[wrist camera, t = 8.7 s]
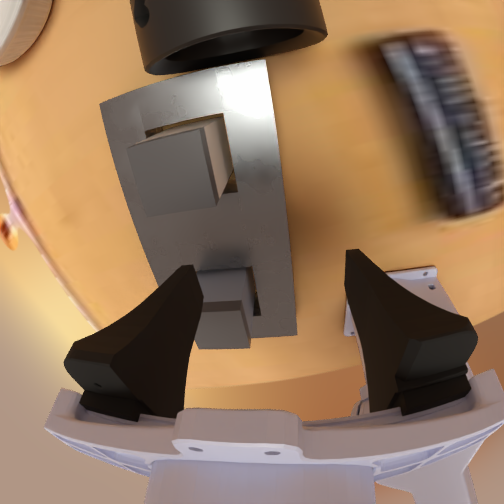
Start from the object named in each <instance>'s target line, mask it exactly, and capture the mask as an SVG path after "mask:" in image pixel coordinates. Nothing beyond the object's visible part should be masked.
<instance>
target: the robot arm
mask: <svg viewBox="0 0 504 504" xmlns="http://www.w3.org/2000/svg"><path fill="white" fill-rule="evenodd" d="M437 272H438V270H437V268H436V267H426V268H419V269H412V270H404V271H396V272H388V273H385V272H383V271H382V270H381V269H380V268H379V267H378V266H377V265H375V264H374V263H373V262H372V261H371V260H370V259H369V258H368V257H367V256H366V255H365V254H364V253H363V252H361V251H360V250H359V249H352V250H346V263H345V283H344V286H345V291H346V296H347V302H346V313H345V323H344V335H345V336H356V340H357V344H358V348H359V352H360V357H361V361H362V366H363V370H364V375H365V380H366V385H365V386H363V387H361V388H360V395H361V400H360V401H358V402H357V403H355V405H354V406H353V409H352V412H351V416H349V417H342V418H334V419H326V420H316V421H304V422H302V420H301V419H300V418H299V417H298V416H297V415H296V414H294V413H291V412H288V411H285V410H273V409H211V408H186V409H184V397H185V386H186V377H187V369H188V363H189V357H190V353H191V349H192V345H193V342H194V338H195V335H196V331H197V328H198V324H199V321H200V317H201V313H202V307H203V299H204V295H203V292H202V289H201V286H200V284H199V281H198V277H197V274H196V271H195V268H194V265H193V264H192V265H182V266H180V267H179V268H178V269H177V270H176V271H175V272H174V273H173V274H172V275H171V276H170V277H169V278H168V279H167V280H166V281H165V282H164V283H162V284H161V285H160V286H159V287H158V288H157V289H156V290H155V291H154V292H153V293H152V294H151V295H150V296H149V297H148V298H146V299H145V300H144V301H143V302H142V303H141V304H140V305H138V306H137V307H136V308H134V309H133V310H132V311H130V312H129V313H128V314H126V315H125V316H123V317H122V318H120V319H119V320H117V321H116V322H114V323H113V324H111V325H109V326H108V327H106V328H104V329H102V330H100V331H98V332H96V333H94V334H92V335H90V336H87V337H85V338H83V339H81V340H78V341H75V342H74V343H73V345H72V347H71V349H70V351H69V353H68V354H67V356H66V358H65V360H64V366H65V368H66V370H67V372H68V373H69V374H70V375H71V377H72V378H73V379H75V381H76V382H77V383H78V384H79V385H80V386H81V387H82V388H83V389H84V392H83V395H81V394H79V393H77V392H75V391H71V390H68V389H65V388H61V389H60V392H59V394H58V396H57V398H56V400H55V402H54V405H53V407H52V409H51V411H50V414H49V416H48V418H47V421H46V423H45V426H44V429H45V430H47V431H48V432H49V433H51V434H52V435H54V436H55V437H56V438H58V439H60V440H61V441H63V442H64V443H65V444H67V445H68V446H70V447H71V448H73V449H74V450H76V451H79V452H81V453H84V454H86V455H88V456H91V457H93V458H96V459H99V460H101V461H104V462H106V463H109V464H111V465H114V466H117V467H120V468H123V469H126V470H128V471H132V472H135V473H138V474H141V475H144V476H148V477H150V478H149V482H148V487H147V491H146V496H145V501H144V504H376V500H375V487H374V482H377V483H378V484H381V485H384V486H388V487H391V488H395V489H400V490H404V491H407V492H410V493H412V495H413V498H414V501H415V504H478V502H477V497H476V494H475V489H474V486H473V482H472V478H471V475H470V471H469V467H468V464H469V462H470V461H471V459H472V458H473V456H474V455H475V453H476V452H477V451H478V449H479V448H480V446H481V444H482V443H483V441H484V440H485V439H486V438H487V437H488V436H490V435H491V434H492V433H493V432H495V431H496V430H497V429H498V428H500V427H501V426H502V425H503V424H504V392H503V389H502V387H501V384H500V382H499V379H498V377H497V375H496V373H495V370H494V369H490V370H487V371H485V372H483V373H480V374H477V375H475V376H474V375H473V373H472V371H471V369H470V367H469V364H468V363H467V360H468V359H469V357H470V356H471V354H472V352H473V351H474V349H475V347H476V345H477V341H478V336H477V333H476V331H475V330H474V328H473V326H472V324H471V322H470V321H469V319H468V318H467V317H464V316H461V315H459V314H458V312H457V310H456V308H455V307H454V305H453V303H452V302H451V300H450V298H449V297H448V295H447V293H446V292H445V290H444V288H443V287H442V285H441V284H440V282H439V281H438V279H437V277H436V276H437Z"/></svg>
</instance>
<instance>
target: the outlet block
mask: <svg viewBox="0 0 504 504" xmlns="http://www.w3.org/2000/svg"><path fill="white" fill-rule="evenodd" d="M99 105H100V109H101V114H102V118H103V122H104V126H105V130H106V134H107V138H108V142H109V146H110V149H111V153H112V157H113V160H114V164H115V167H116V170H117V174H118V177H119V180H120V184H121V187H122V190H123V193H124V196H125V199H126V202H127V205H128V208H129V211H130V214H131V217H132V220H133V222H134V225H135V228H136V231H137V233H138V236H139V239H140V241H141V244H142V247H143V249H144V252H145V254H146V257H147V259H148V262H149V264H150V267H151V269H152V272H153V274H154V277H155V279H156V281H157V284H158V286H160V285H161V284H162V283H164V282H165V281H166V280H167V279H168V278H169V277H170V276H171V275H172V274H173V273H174V272H175V271H176V270H177V269H178V268H179V267H180V266H182V265H192V264H193V265H194V268H195V271H196V274H197V271H203V270H215V269H227V268H239V267H250V266H252V268H253V274H254V279H255V284H256V289H257V293H255V300H254V311H253V322H252V333H251V338H265V337H280V336H294V335H297V323H296V308H295V295H294V283H293V271H292V260H291V250H290V240H289V230H288V220H287V211H286V202H285V193H284V185H283V177H282V169H281V161H280V153H279V146H278V138H277V131H276V124H275V117H274V111H273V104H272V97H271V91H270V85H269V79H268V73H267V67H266V61H265V59H264V60H256V61H249V62H243V63H236V64H231V65H225V66H220V67H215V68H210V69H206V70H202V71H197V72H193V73H189V74H185V75H181V76H178V77H174V78H171V79H167V80H164V81H160V82H157V83H154V84H151V85H148V86H145V87H142V88H139V89H136V90H133V91H131V92H128V93H125V94H122V95H120V96H117V97H115V98H112V99H110V100H107V101H105V102H103V103H100V104H99ZM218 113H223V114H224V119H225V124H226V130H227V135H228V141H229V146H230V151H231V157H232V162H233V167H234V173H235V178H236V179H232V180H228V182H227V184H226V186H225V188H224V190H223V193H222V195H221V197H220V199H219V201H218V204H217V206H216V207H211V208H204V209H197V210H191V211H184V212H178V213H171V214H165V215H159V216H153V217H147V216H146V213H145V210H144V207H143V204H142V201H141V198H140V195H139V192H138V189H137V185H136V182H135V179H134V175H133V172H132V169H131V165H130V162H129V158H128V154H127V151H126V148H128V147H130V146H132V145H134V144H136V143H138V142H140V141H142V140H145V139H147V138H149V137H151V136H153V135H155V134H157V133H160V132H162V131H163V130H162V126H165V125H169V124H173V123H177V122H181V121H185V120H189V119H194V118H198V117H203V116H208V115H213V114H218Z"/></svg>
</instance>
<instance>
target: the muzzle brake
mask: <svg viewBox="0 0 504 504" xmlns="http://www.w3.org/2000/svg"><path fill="white" fill-rule="evenodd" d="M130 4H131V9H132V14H133V19H134V24H135V29H136V34H137V38H138V43H139V47H140V52H141V56H142V61H143V65H144V69H145V71H146V72H147V73H149V74H153V75H168V74H176V73H183V72H188V71H194V70H199V69H205V68H210V67H215V66H220V65H225V64H230V63H235V62H239V61H244V60H249V59H255V58H260V57H265V56H270V55H275V54H279V53H284V52H288V51H293V50H297V49H301V48H305V47H308V46H311V45H314V44H317V43H319V42H321V41H322V40H324V39H325V38H326V37H327V35H328V33H327V29H326V24H325V21H324V17H323V13H322V9H321V6H320V2H319V0H130Z"/></svg>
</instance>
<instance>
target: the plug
mask: <svg viewBox="0 0 504 504" xmlns="http://www.w3.org/2000/svg"><path fill="white" fill-rule="evenodd" d="M126 151H127V154H128V158H129V162H130V165H131V169H132V172H133V175H134V179H135V182H136V185H137V189H138V192H139V195H140V198H141V201H142V204H143V207H144V210H145V213H146V216H147V217H153V216H159V215H165V214H171V213H178V212H184V211H191V210H197V209H204V208H211V207H216V206H217V204H218V201H219V199H220V197H221V195H222V193H223V190H224V188H225V186H226V184H227V182H228V180H229V177H230V175H231V173H232V171H233V163H232V158H231V153H230V148H229V142H228V137H227V132H226V127H225V121H224V116H222V117H217V118H212V119H207V120H202V121H197V122H193V123H188V124H184V125H180V126H176V127H172V128H169V129H166V130H164V131H162V132H160V133H157V134H155V135H153V136H151V137H149V138H147V139H145V140H142V141H140V142H138V143H136V144H134V145H132V146H130V147H128V148H126Z"/></svg>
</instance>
